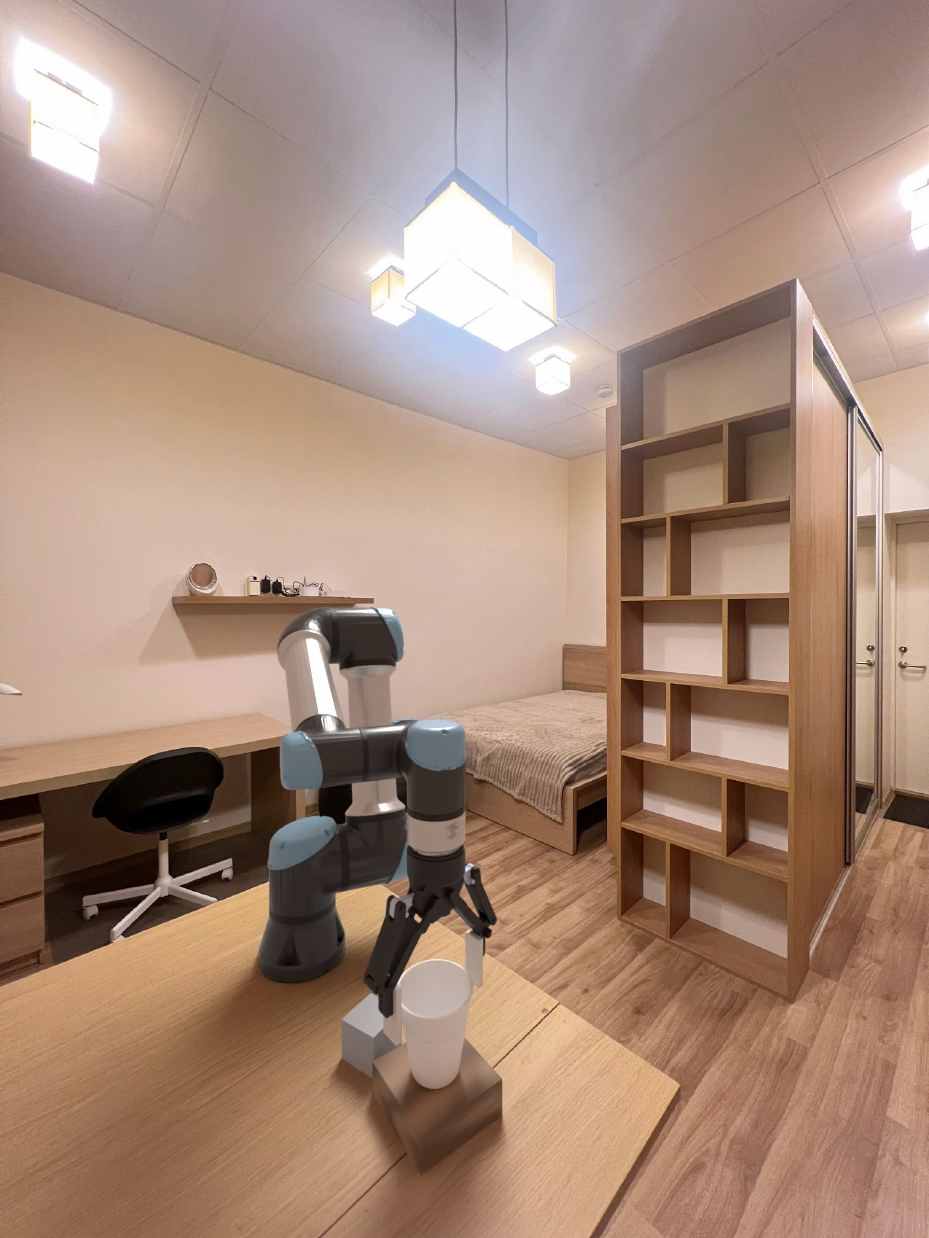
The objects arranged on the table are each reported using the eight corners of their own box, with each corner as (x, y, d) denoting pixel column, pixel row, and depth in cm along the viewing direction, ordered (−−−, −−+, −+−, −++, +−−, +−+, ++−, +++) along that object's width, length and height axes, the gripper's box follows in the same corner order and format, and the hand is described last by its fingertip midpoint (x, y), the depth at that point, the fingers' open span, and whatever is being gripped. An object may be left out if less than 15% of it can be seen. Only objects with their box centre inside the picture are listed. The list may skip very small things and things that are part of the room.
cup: (466, 1114, 60) (466, 1024, 59) (385, 1099, 62) (384, 1012, 61) (479, 1040, 70) (479, 963, 69) (409, 1030, 72) (408, 954, 71)
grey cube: (341, 1061, 72) (341, 1019, 72) (370, 1032, 78) (370, 992, 78) (373, 1082, 69) (373, 1037, 69) (401, 1050, 74) (401, 1008, 74)
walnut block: (372, 1099, 67) (372, 1061, 67) (448, 1053, 74) (448, 1018, 74) (420, 1180, 57) (420, 1135, 57) (502, 1118, 65) (502, 1078, 65)
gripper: (368, 890, 55) (368, 1088, 55) (522, 825, 72) (521, 976, 72) (333, 865, 60) (333, 1044, 60) (484, 810, 77) (483, 950, 77)
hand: (435, 1007), depth 66 cm, fingers open, 13 cm apart
